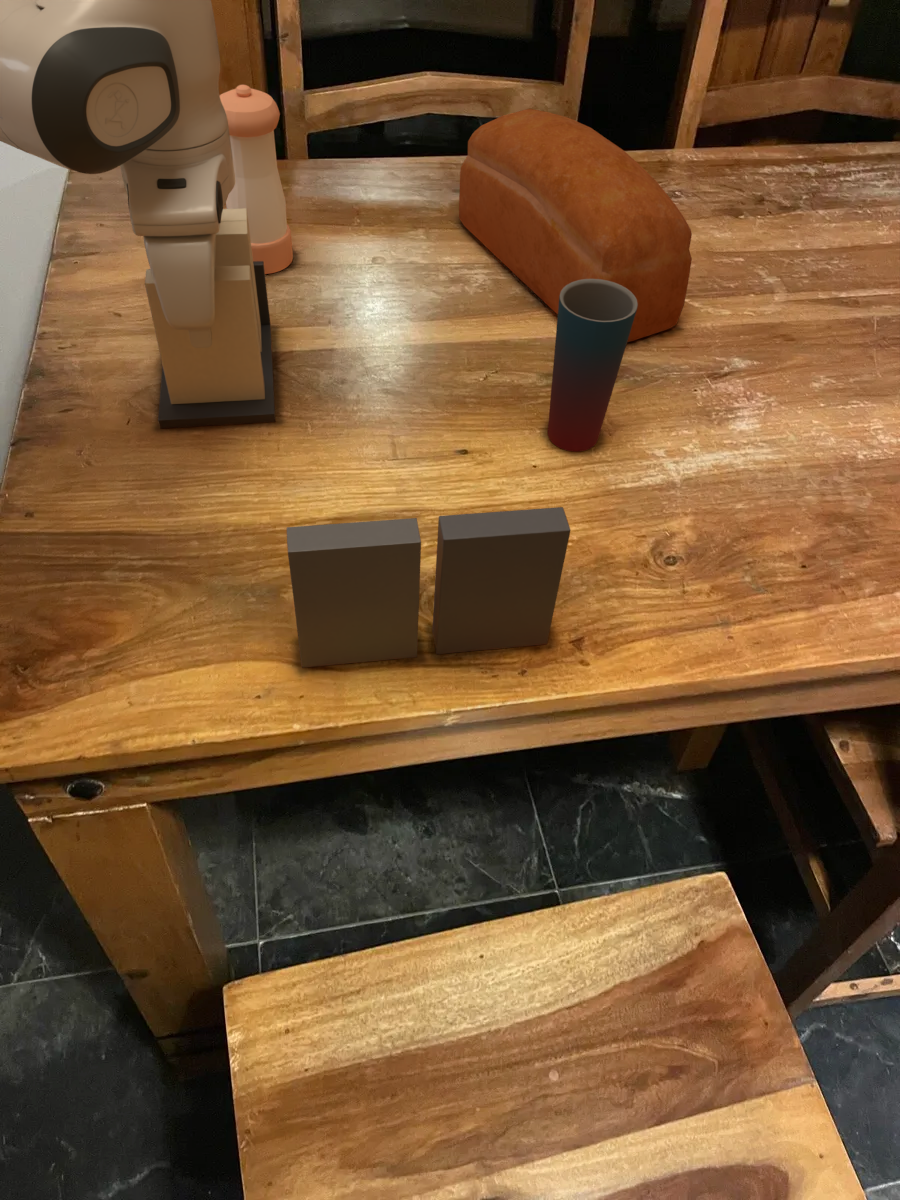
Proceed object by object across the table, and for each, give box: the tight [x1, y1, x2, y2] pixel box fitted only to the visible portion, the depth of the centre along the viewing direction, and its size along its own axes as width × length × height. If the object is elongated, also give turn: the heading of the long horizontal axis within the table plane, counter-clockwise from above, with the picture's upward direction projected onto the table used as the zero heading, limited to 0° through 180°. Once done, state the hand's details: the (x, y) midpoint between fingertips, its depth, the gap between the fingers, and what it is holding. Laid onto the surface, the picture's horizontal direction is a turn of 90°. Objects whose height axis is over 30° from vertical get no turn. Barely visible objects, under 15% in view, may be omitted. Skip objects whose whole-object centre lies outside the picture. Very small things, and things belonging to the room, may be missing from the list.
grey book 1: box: [286, 517, 422, 668], centre depth 69 cm, size 9×2×13 cm, turn 99°
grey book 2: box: [431, 506, 571, 655], centre depth 70 cm, size 9×2×13 cm, turn 99°
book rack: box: [157, 208, 277, 429], centre depth 90 cm, size 11×16×14 cm
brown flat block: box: [144, 266, 265, 404], centre depth 87 cm, size 9×2×13 cm, turn 99°
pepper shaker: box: [219, 84, 294, 275], centre depth 103 cm, size 7×7×19 cm
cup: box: [547, 279, 638, 453], centre depth 86 cm, size 7×7×15 cm
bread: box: [458, 108, 693, 343], centre depth 107 cm, size 14×33×16 cm, turn 28°
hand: (203, 315), depth 85 cm, fingers open, 7 cm apart
